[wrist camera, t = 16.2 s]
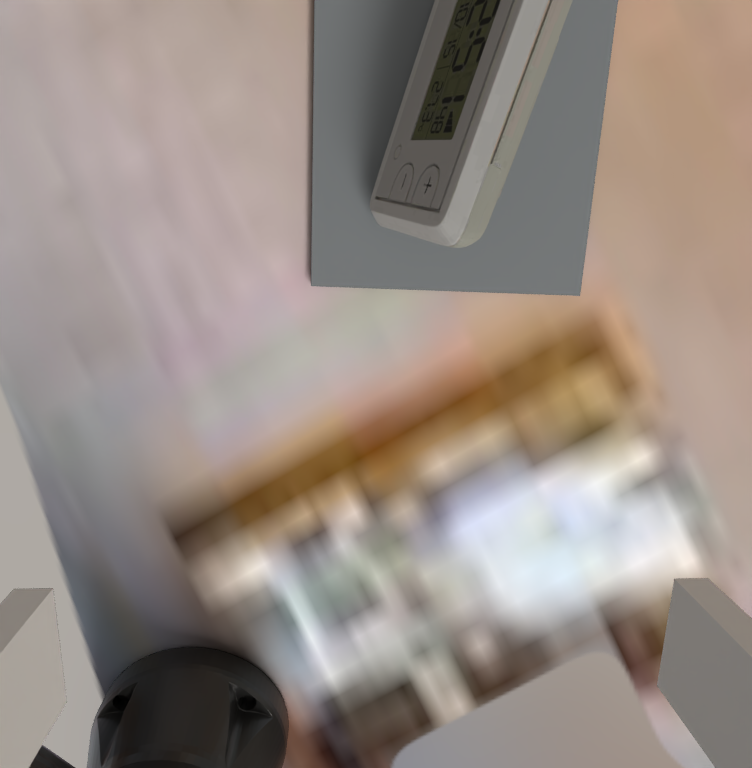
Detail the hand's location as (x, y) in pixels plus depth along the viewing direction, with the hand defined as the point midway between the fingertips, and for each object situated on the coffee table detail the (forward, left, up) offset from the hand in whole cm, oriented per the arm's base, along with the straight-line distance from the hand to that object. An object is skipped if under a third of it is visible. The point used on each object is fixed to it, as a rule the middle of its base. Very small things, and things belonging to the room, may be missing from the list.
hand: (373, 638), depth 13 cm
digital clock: (+16, -5, -29) cm, 33 cm away
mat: (+15, -6, -29) cm, 34 cm away
